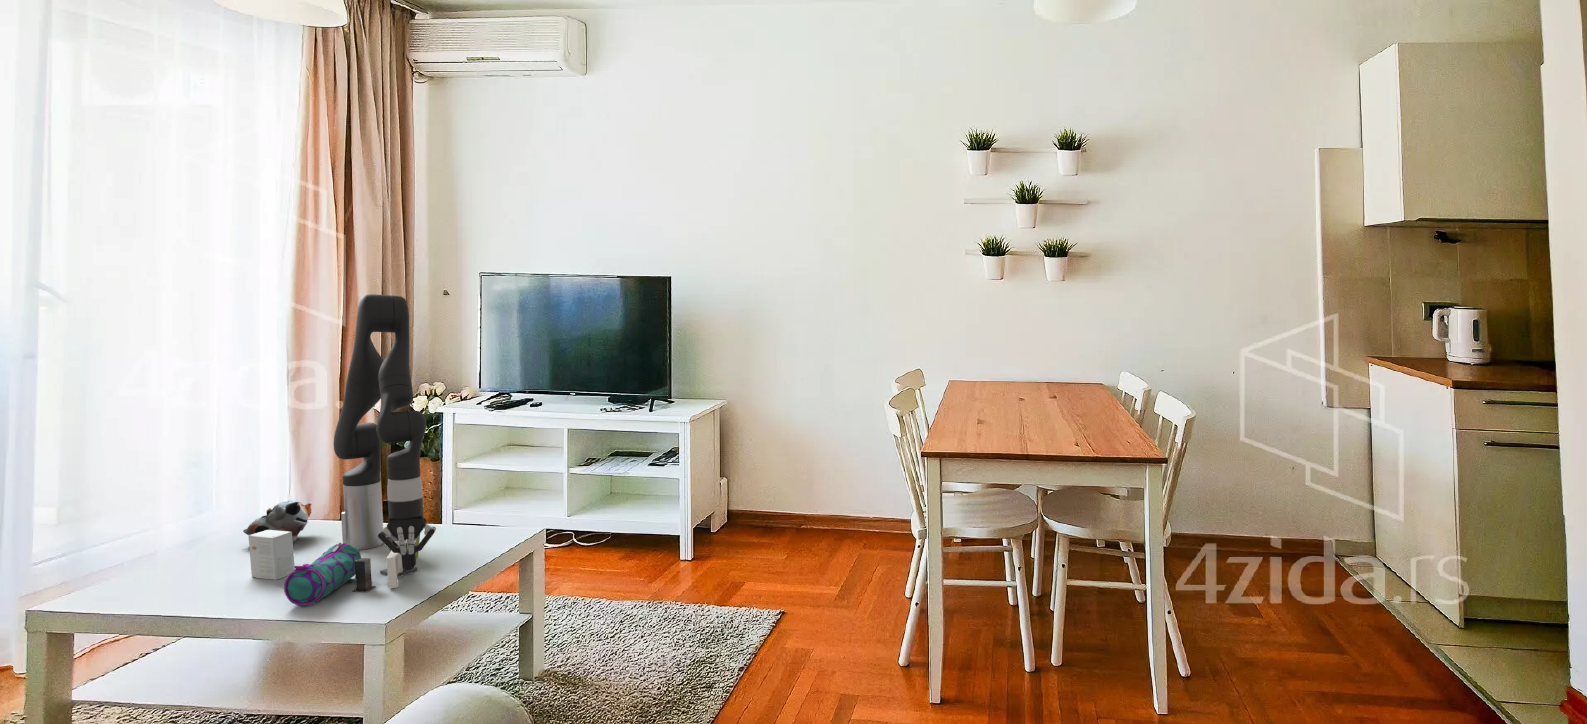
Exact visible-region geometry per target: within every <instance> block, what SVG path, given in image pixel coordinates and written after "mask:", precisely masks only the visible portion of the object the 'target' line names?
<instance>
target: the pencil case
mask: <svg viewBox="0 0 1587 724" xmlns="http://www.w3.org/2000/svg"><path fill="white" fill-rule="evenodd" d="M360 558H362V556H361V552H360V551H359V549H356V548H354V547H352V546H351V545H349V544H345V543H343V542H342V543H341V542H338V543H336V544H334V545H332V546H330V547H329V548H328V549H327V550H326V551H325V552H323V553H322V555H321V556H319V557H318V558H316V559H315V560H314V561H313V562H312V563H311V564H309V563H305V564H302V565H295V570H294V571H292V572H291V573H290V574H289V575H288V576H286V577H285V580H284V585H283V590H284V594H285V596H286V598H287V600H288V601H289V602H290V603H292V604H293V605H295V606H298V607H302V608H303V607H309V606H311V605H313V604H315V603H317V602H320V601H322V600H323V598H325V597H327V596H328V595H329V594H331V593H332V592H333V591H335V590H336V589H338V588H339V587H341V586H343V585H344V584H346V583H347V582H348V581H350V580H351V579H352V578H353V577H355V561H356V560H358V559H360Z"/></svg>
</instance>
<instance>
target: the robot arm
mask: <svg viewBox="0 0 1587 724" xmlns="http://www.w3.org/2000/svg"><path fill="white" fill-rule="evenodd" d="M356 313H357V314H356V322H355V333H354V343H353V349H352V355H351V359H350V363H349V368H348V372H347V377H346V382H345V383H346V384H345V390H344V395H343V403H342V407H341V411H340V414H339V418H338V421H337V424H336V427H335V432H334V435H333V450H334V451H333V452H334V454H335V456H336V457H337V458H338V459H340V460H355V459H362V458H363V460H362V461H361V462H360V463H359V464H358V465H356V466H355V467H354V468H352V469H350V470H348V471H345V473H343V475H342V489H343V490H342V491H343V506H344V511H342V512H341V514H340V518H341V534H342V535H341V536H342V537H341V538H342V544H343V543H345V544H349V545H351V546H352V547H354V548H356V549H357V550H367V549H372V548H376V547H379V546H382V545H383V544H384V545H385V546H386V547H387V548H388V549H389V550H391V551H392V552H393V553H400V554H401V556H402V567H403V568H405V570H412V569H413V567H416V564H417V559H416V552H418V551H419V552H421V551H422V550H423V549H424V547H425V546H426V544H428V542H429V541H430V539H431V538H432V536H434V534H435V533H436V530H437V528H436V527H435V526H431V525H429V524H428V523H427V520H426V518H425V514H424V513H425V512H424V511H425V510H424V493H423V483H422V477H421V450H422V446H423V441H424V438H425V435H426V429H427V419H426V416H425V415H424V414H423V413H422V412H421V411H419V410H407V411H406V410H404V411H396V410H399V409H402V408H405V407H407V406H409V405H411V404H412V403H413V401H414V392H413V391H414V390H413V384H412V377H411V372H410V371H411V369H410V311H409V305H408V302H407V300H406V299H405V297H403V296H401V295H393V294H373V293H371V294H370V293H369V294H364V295H362V297H361V298H360V300H359V303H358V307H357V312H356ZM372 333H391V334H392V333H394V342H393V345H392V346H391V348H390V350H389V351H388V354H387V355H386V356H385V358H384V359H383V357H382V356H381V354H380V352H378V350H377V349H376V347H375V345H374V343H373V341H372V338H371V337H372ZM379 401H380V410H379V415H378V417H377V424H376V423H374V422H364V423H363V422H362V423H359V422H360V421H361V420H362V418H363V417H364V416H365V415H366V414H367V413H369V411H371V409H372V408H374V406H376V405H377V404H378V402H379ZM404 442H405V443H406V442H409V443H408V445H407V446H406V447H405V448H404V449H401V450H398V451H395V452H392V453H390V454H389V455H388V456H387V458H386V468H387V469H386V470H387V489H386V490H387V491H386V492H387V494H386V498H387V505H388V506H387V509H388V512H387V513H388V523H386V527H387V528H386V529H384V516H383V500H382V498H383V497H382V482H381V475H382V474H381V473H382V471H381V470H382V463H381V461H382V460H381V457H382V456H381V453H382V452H381V451H382V450H381V449H382V443H384V444H393V443H404ZM383 529H384V530H383ZM423 530H424V532H423ZM389 531H390V532H391V533H392V534H393V535H394V536H395V538H396V539H398V540H399V545H398V544H397V543H396V542H395V541H394V540H393V539H392V538H391V537H390V535H391V534H390V532H389ZM422 532H423V534H424V536H423V538H422V539H421V540H420V541H419V544H418V545H416V538H417V537H418V536H419V534H420V535H421V533H422ZM407 539H409V540H408V545H409V552H408V546H407ZM419 552H418V553H419Z"/></svg>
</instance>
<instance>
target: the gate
mask: <svg viewBox="0 0 1587 724" xmlns="http://www.w3.org/2000/svg"><path fill="white" fill-rule="evenodd" d="M395 542H396V543H397V544H398V545H399V541H395ZM386 556H387V557H386V569H387V575H388V576H387V587H388V589H390V588H398V584H399V583H398V580H399V579H398V577H397V575H398V573H401V572H402V571H403V569H402V556H401V554H400V553H393V552H392V551H391V552H390V551H389V554H388V555H386Z"/></svg>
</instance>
